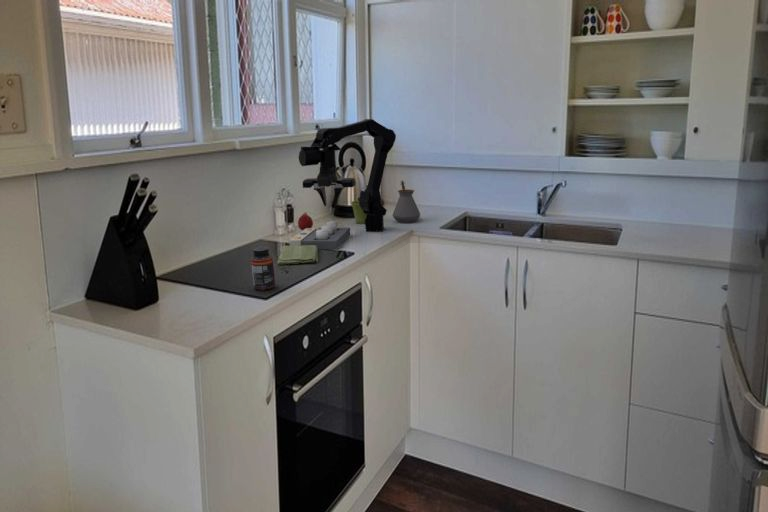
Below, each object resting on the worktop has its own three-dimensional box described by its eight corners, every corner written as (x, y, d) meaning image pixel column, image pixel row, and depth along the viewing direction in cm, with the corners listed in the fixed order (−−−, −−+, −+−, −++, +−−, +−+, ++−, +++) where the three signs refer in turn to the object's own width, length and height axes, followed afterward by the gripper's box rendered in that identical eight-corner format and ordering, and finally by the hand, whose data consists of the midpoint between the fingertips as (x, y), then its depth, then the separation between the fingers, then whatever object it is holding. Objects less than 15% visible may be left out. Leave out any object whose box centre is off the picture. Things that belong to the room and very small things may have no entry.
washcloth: (276, 267, 189) (275, 257, 188) (281, 253, 206) (280, 244, 205) (318, 265, 189) (317, 255, 189) (319, 251, 207) (319, 242, 206)
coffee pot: (421, 223, 244) (421, 186, 240) (393, 224, 243) (392, 188, 239) (416, 213, 264) (415, 179, 261) (390, 214, 264) (389, 181, 260)
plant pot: (373, 224, 245) (373, 203, 243) (350, 225, 246) (349, 204, 243) (374, 219, 254) (373, 199, 252) (352, 220, 255) (351, 200, 252)
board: (350, 235, 227) (350, 227, 226) (336, 249, 206) (336, 241, 205) (319, 235, 229) (319, 227, 228) (302, 249, 208) (302, 241, 207)
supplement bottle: (264, 283, 171) (261, 244, 168) (279, 286, 168) (276, 247, 165) (249, 289, 166) (245, 249, 163) (264, 292, 163) (260, 252, 160)
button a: (338, 230, 225) (338, 221, 224) (336, 233, 222) (335, 223, 221) (328, 230, 226) (327, 221, 225) (325, 233, 222) (324, 223, 221)
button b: (334, 234, 219) (333, 225, 218) (331, 237, 215) (330, 227, 214) (323, 234, 219) (322, 225, 218) (320, 237, 216) (319, 227, 215)
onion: (310, 234, 232) (309, 213, 230) (296, 234, 233) (295, 213, 231) (315, 230, 237) (313, 211, 235) (301, 230, 238) (300, 211, 236)
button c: (329, 239, 212) (328, 229, 211) (326, 242, 208) (325, 231, 207) (318, 239, 213) (317, 229, 212) (315, 242, 209) (314, 231, 208)
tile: (316, 235, 228) (316, 227, 228) (301, 248, 209) (300, 239, 209) (306, 235, 229) (305, 227, 228) (290, 248, 210) (289, 239, 209)
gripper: (296, 166, 211) (299, 210, 215) (348, 165, 208) (350, 210, 212) (305, 163, 222) (308, 204, 226) (354, 162, 219) (356, 204, 223)
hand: (330, 206), depth 221 cm, fingers open, 4 cm apart
